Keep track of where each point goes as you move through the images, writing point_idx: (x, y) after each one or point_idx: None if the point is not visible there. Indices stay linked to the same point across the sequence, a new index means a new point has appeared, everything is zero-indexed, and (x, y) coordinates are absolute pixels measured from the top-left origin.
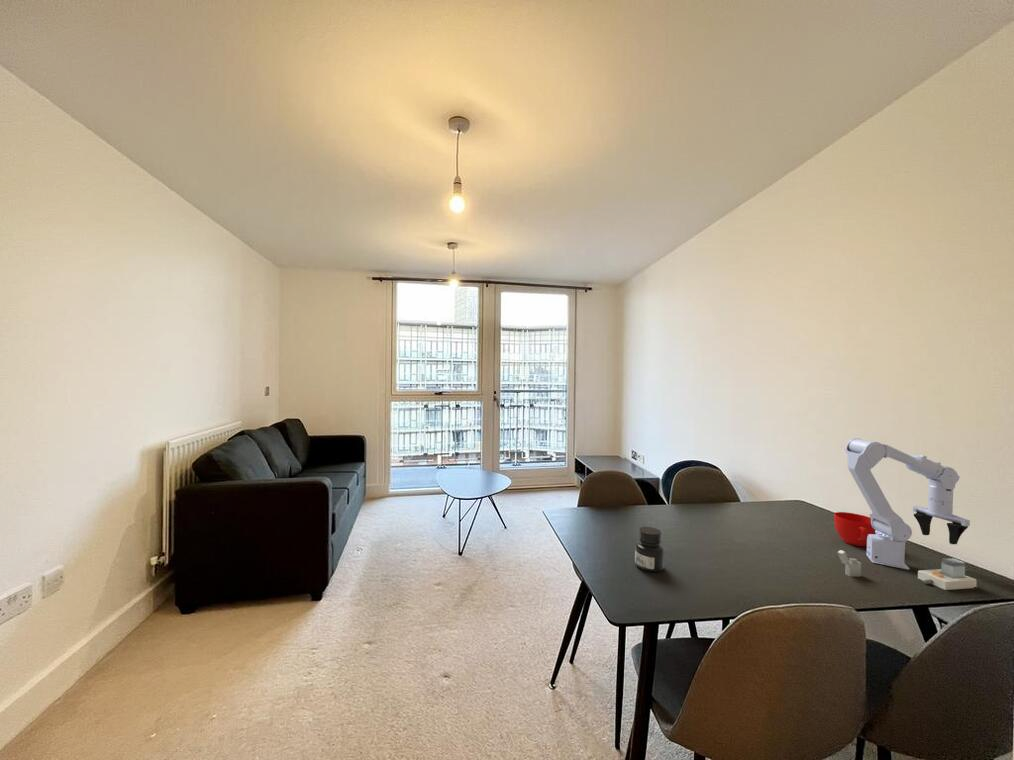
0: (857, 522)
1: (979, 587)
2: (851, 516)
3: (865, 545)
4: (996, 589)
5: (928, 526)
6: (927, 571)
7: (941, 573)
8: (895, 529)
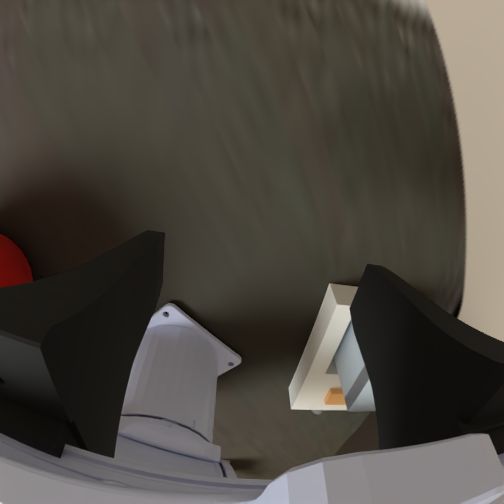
0: None
1: (415, 278)
2: None
3: (28, 265)
4: (449, 237)
5: (132, 288)
6: (308, 394)
7: (336, 363)
8: None
